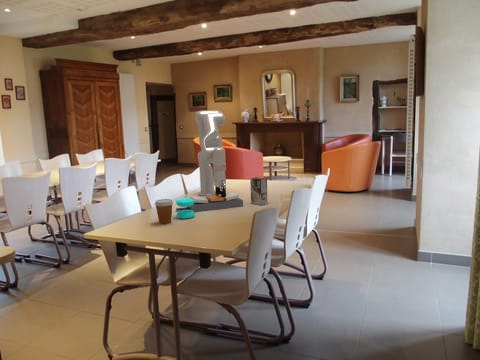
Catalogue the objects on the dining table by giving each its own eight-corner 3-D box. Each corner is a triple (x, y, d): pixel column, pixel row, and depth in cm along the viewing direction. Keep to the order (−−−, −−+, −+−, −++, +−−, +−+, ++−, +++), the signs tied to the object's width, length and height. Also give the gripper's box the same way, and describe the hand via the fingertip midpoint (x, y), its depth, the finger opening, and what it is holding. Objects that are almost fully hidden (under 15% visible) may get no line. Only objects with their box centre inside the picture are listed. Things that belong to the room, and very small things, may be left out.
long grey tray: (174, 209, 243) (173, 202, 242) (235, 202, 257) (235, 195, 256) (178, 214, 231) (178, 206, 230) (243, 206, 245) (242, 198, 244)
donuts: (181, 197, 228) (197, 198, 225) (182, 214, 230) (197, 215, 226) (172, 200, 219) (188, 201, 216) (173, 218, 221) (189, 219, 217)
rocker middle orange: (205, 198, 248) (205, 195, 248) (218, 197, 251) (218, 194, 250) (211, 201, 238) (210, 198, 238) (223, 200, 241) (223, 197, 241)
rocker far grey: (221, 197, 252) (220, 195, 251) (232, 194, 254) (232, 191, 254) (226, 200, 242) (226, 198, 242) (238, 197, 245) (238, 194, 244)
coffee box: (268, 203, 251) (267, 178, 248) (261, 205, 246) (261, 179, 244) (257, 201, 257) (256, 177, 254) (250, 203, 252) (249, 178, 250)
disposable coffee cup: (158, 220, 217) (157, 199, 215) (175, 220, 217) (174, 198, 215) (154, 225, 208) (152, 202, 206) (172, 225, 208) (170, 202, 206)
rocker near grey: (190, 199, 244) (190, 196, 244) (202, 199, 247) (203, 197, 247) (194, 202, 235) (195, 199, 234) (207, 203, 238) (208, 200, 237)
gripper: (209, 167, 249) (210, 194, 252) (218, 170, 233) (219, 198, 236) (220, 166, 252) (221, 193, 255) (230, 169, 236) (231, 197, 239)
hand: (220, 195), depth 245 cm, fingers open, 9 cm apart
